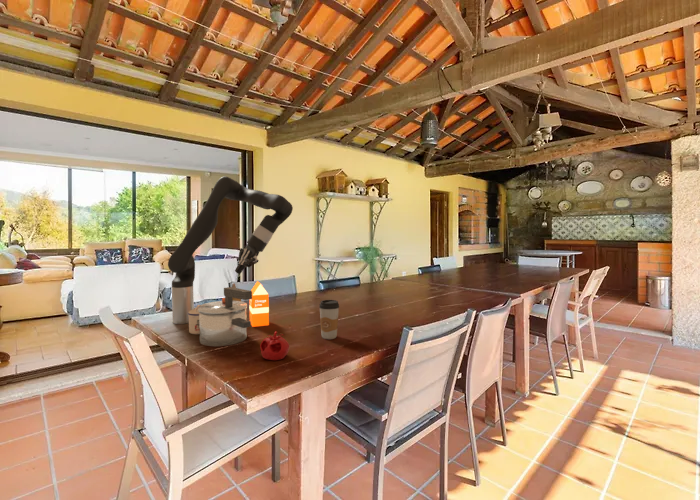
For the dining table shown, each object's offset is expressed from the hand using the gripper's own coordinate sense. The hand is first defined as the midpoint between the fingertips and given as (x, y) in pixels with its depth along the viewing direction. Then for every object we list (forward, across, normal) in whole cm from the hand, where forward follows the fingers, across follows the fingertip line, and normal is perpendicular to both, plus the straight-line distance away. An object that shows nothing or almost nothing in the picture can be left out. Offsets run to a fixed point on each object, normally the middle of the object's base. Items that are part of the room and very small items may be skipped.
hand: (237, 272), depth 145 cm
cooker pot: (+24, +12, +6) cm, 28 cm away
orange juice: (+17, -1, +27) cm, 32 cm away
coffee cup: (+2, +35, +31) cm, 47 cm away
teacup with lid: (+31, -7, +8) cm, 32 cm away
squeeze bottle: (+24, -15, +25) cm, 37 cm away
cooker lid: (+14, +9, +1) cm, 16 cm away
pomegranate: (+15, +39, +6) cm, 42 cm away
